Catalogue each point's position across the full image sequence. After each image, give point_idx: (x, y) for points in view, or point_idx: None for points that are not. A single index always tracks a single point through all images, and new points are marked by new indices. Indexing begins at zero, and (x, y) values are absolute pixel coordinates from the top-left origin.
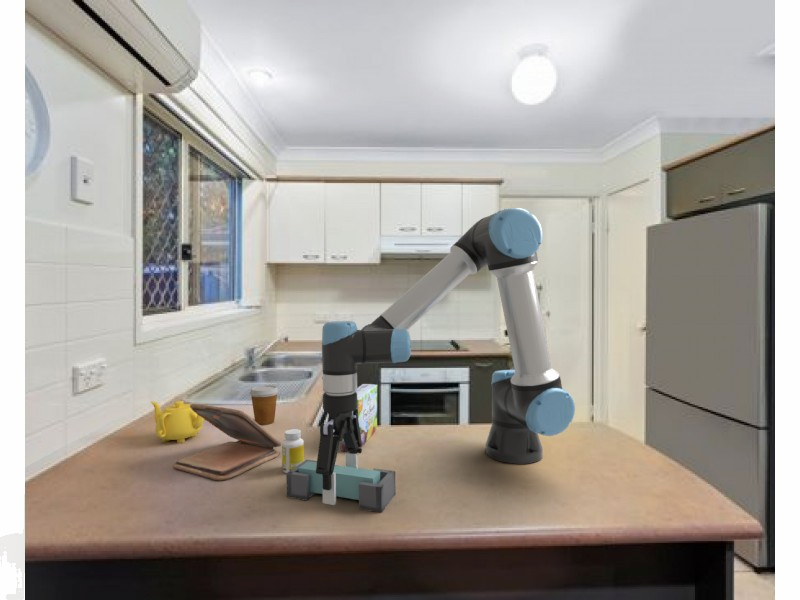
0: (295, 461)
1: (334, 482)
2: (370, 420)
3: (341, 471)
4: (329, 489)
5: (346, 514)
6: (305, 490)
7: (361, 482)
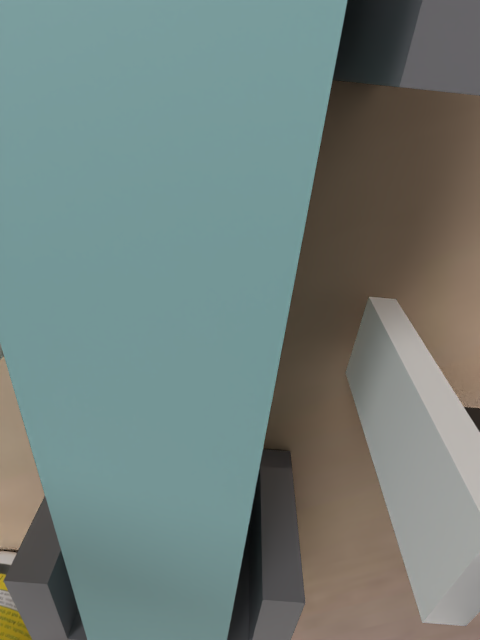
0: (16, 628)
1: (467, 430)
2: None
3: (190, 452)
4: (476, 413)
5: (472, 168)
6: (293, 504)
7: (437, 65)
